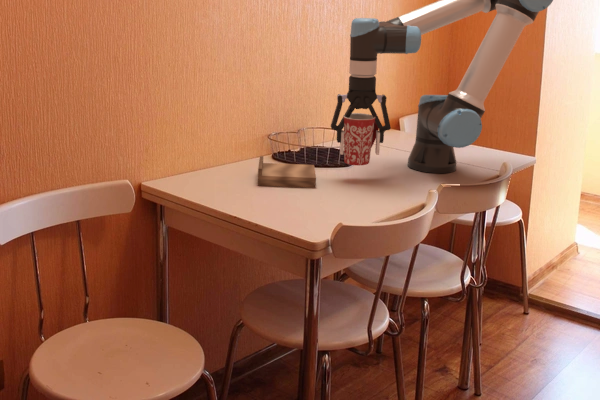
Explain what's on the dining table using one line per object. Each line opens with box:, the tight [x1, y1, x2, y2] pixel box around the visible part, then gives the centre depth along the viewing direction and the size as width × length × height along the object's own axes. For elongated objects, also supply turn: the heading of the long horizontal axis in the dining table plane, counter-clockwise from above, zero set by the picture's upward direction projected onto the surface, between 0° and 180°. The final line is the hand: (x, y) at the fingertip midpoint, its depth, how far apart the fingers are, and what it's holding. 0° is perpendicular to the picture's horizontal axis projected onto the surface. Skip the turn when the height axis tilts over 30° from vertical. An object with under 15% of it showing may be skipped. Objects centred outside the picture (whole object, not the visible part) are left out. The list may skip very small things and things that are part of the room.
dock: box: [257, 155, 317, 189], centre depth 200 cm, size 16×14×5 cm
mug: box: [342, 112, 379, 166], centre depth 200 cm, size 13×9×14 cm
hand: (359, 153), depth 202 cm, fingers closed on mug, 9 cm apart
